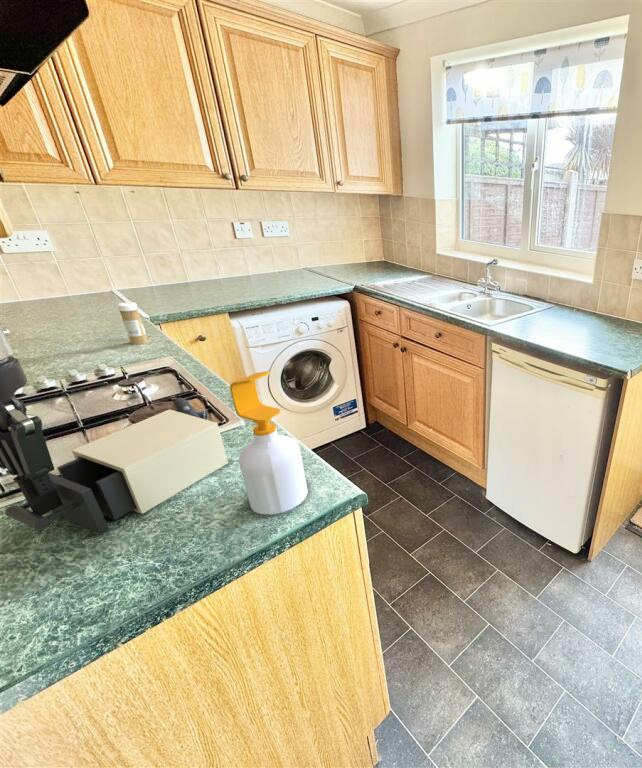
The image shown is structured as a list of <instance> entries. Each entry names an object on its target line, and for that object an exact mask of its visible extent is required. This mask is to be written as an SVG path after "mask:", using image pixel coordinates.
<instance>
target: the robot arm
mask: <svg viewBox="0 0 642 768" xmlns="http://www.w3.org/2000/svg"><path fill="white" fill-rule="evenodd" d="M10 335H11V333H10V330H9V329H7V328H3V327H2V324H1V323H0V469H1V470H5V469H6V470H7V473H8V474H9V475H11V476H12V477H13V478H12V480H13V482H14V483H15V484H17V486H18V487H19V489H20V491H21V493H22V495H23V497H24V499H25V500H26V503H27V502H28V504H29V506H30V507H29V508H30V509H31V511H32V512H34V513H36V514H39V515H41V516H43V515H46V514H48V513H50V512H52V510H54V509H56V508H58V507H60V506H62V505H63V503H62V501H61V499H60V497H59V495H58V493H57V491H56V489H55V487H54V485H53V483H52V481H51V479H50V477H49V475H48V472H49V473H52V472H53V471H55V466H54V463H53V460H52V457H51V454H50V450H49V447H48V445H47V441H46V438H45V435H44V432H43V421H42V419H41V417H39V416H38V415H35V416H32V417H29V416H28V415H27V410H28V409H27V407H26V406H25V403H24V402H23V401H22V400H21V399H18V398H17V396H16V395H15V393H16V392H17V391H19V389H22V388H23V387H24V386H26V385H27V383H28V378H27V375H26V373H25V371H24V369H23V367H22V365H21V362H20V361H19V359H18V358H17V357H14V356H12V355H13V354H14V350H13V347H12V345H11V343H10V341H9V339H8V338H7V337H8V336H10ZM14 476H15V477H14Z"/></svg>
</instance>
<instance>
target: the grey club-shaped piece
mask: <svg viewBox="0 0 642 768" xmlns="http://www.w3.org/2000/svg"><path fill="white" fill-rule="evenodd" d="M173 405H174V407H175V408H176V409H177V412H181V413H184V414H187V415H191V416H194V417H198V418H201V419H205V420H208V417H209V415H210V414H209V413H208V411H207V410H202V411H196V410H195V408H194V407H193V406H192V404H191V403H190V402H189V401H188V400H187V399H186V398H184V397H177V398H175V399H174V400H173Z"/></svg>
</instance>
